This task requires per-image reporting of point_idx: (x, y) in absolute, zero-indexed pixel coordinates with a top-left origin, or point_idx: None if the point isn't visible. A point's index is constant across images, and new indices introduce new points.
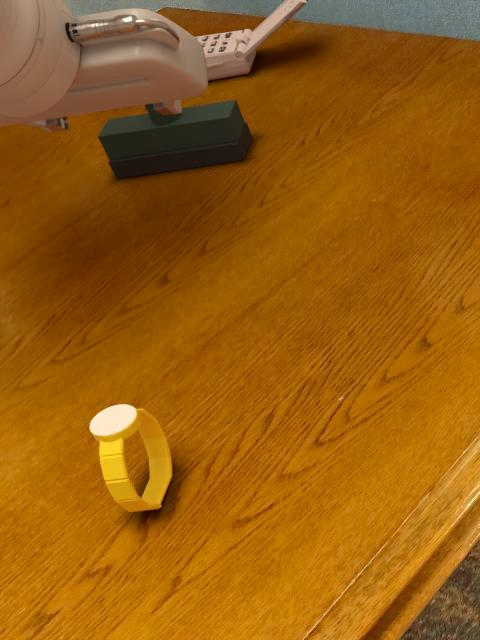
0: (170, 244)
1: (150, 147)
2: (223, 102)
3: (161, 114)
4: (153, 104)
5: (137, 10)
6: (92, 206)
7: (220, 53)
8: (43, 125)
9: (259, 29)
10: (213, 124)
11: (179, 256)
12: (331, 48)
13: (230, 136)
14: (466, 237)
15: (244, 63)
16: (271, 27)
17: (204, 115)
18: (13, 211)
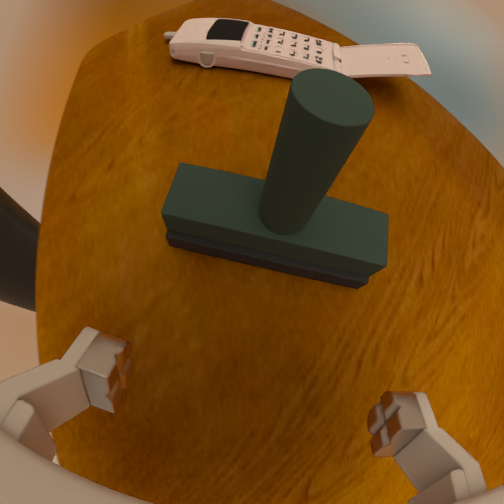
0: (261, 470)
1: (239, 242)
2: (371, 211)
3: (368, 430)
4: (378, 450)
5: None
6: (135, 308)
7: (318, 65)
8: (84, 409)
9: (352, 52)
10: (357, 262)
11: (274, 498)
12: (404, 97)
13: (365, 273)
14: None
15: None
16: (382, 69)
17: (348, 239)
18: (41, 259)
